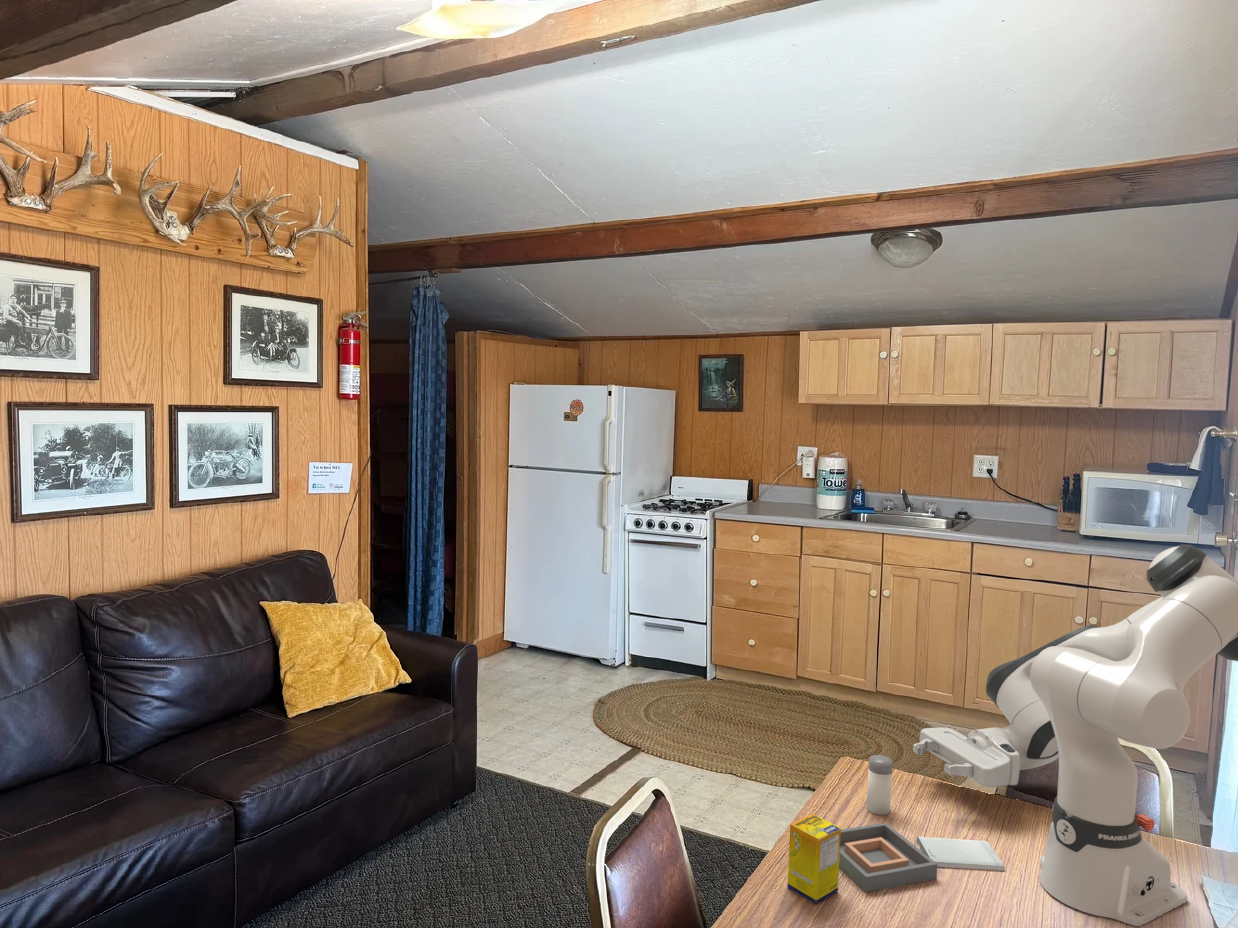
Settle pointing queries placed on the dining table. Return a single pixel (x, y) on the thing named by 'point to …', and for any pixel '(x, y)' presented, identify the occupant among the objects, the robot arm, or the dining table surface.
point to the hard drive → (961, 853)
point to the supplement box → (814, 858)
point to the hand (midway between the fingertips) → (930, 759)
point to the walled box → (882, 858)
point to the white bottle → (879, 784)
